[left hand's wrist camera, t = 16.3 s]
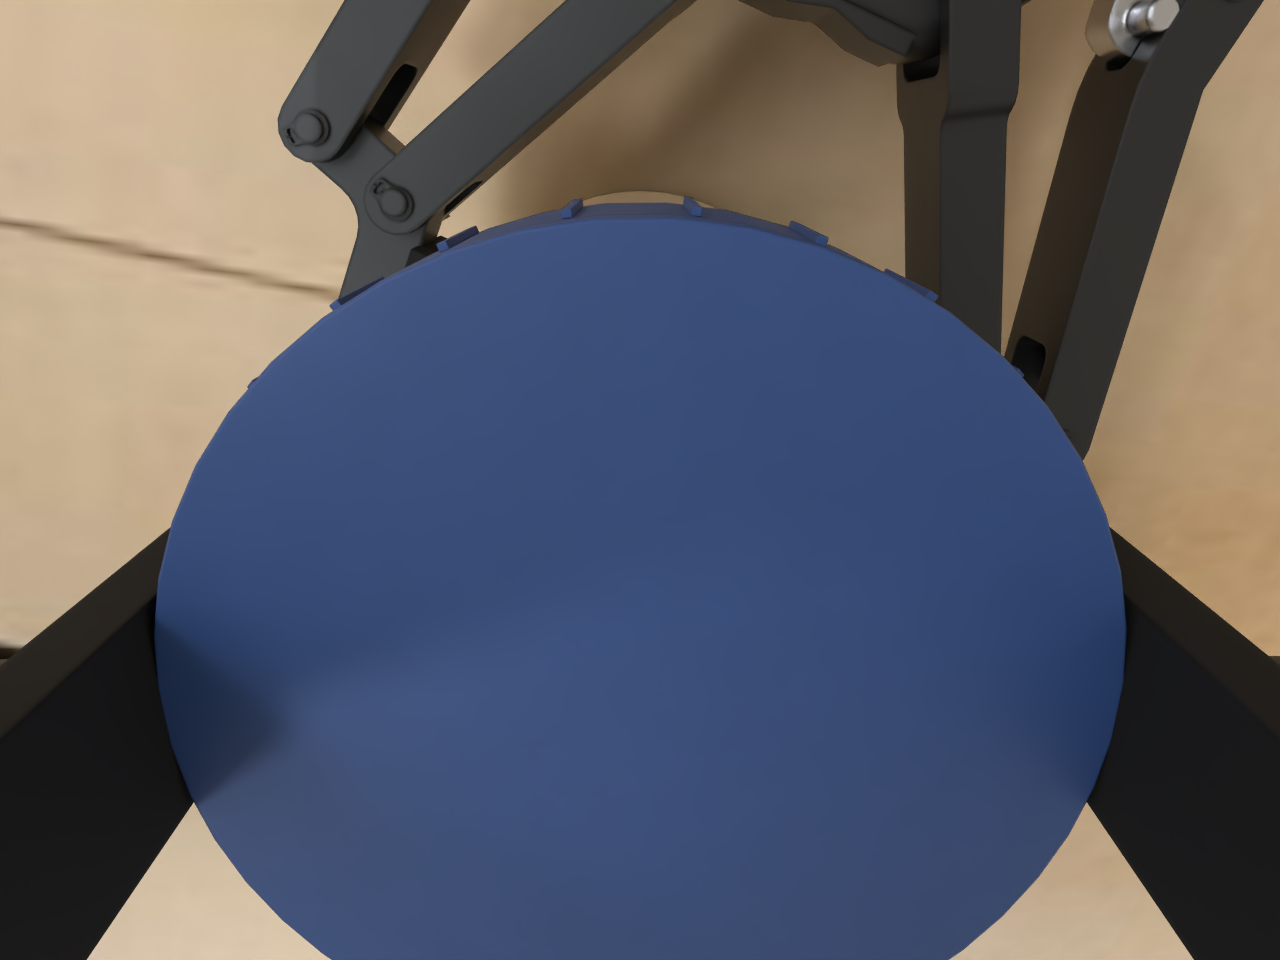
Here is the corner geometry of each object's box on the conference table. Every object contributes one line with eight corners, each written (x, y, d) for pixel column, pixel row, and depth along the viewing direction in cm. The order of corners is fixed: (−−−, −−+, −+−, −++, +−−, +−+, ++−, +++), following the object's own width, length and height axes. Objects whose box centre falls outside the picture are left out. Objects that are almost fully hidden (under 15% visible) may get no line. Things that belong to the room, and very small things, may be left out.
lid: (63, 513, 12) (-72, 599, 9) (773, -14, 10) (814, -61, 7) (552, 1013, 15) (537, 1166, 13) (1170, 700, 13) (1282, 817, 10)
